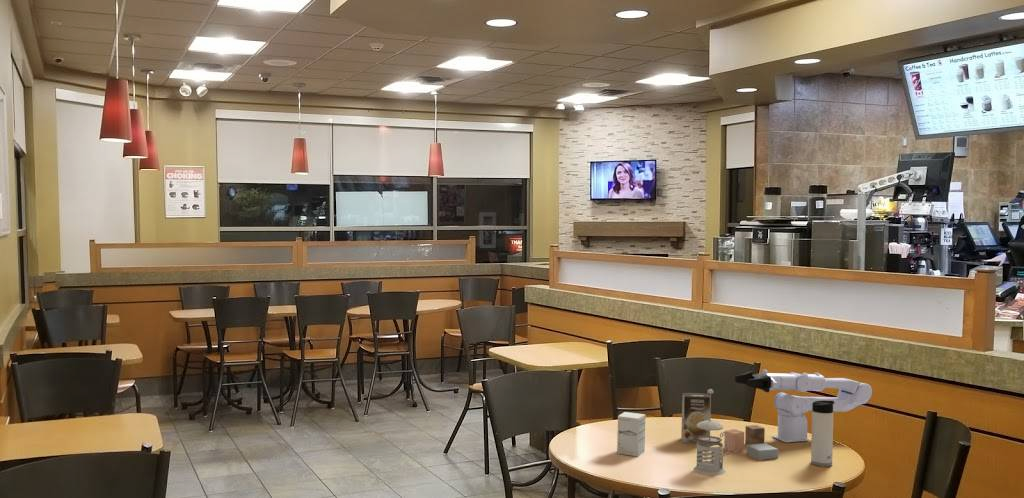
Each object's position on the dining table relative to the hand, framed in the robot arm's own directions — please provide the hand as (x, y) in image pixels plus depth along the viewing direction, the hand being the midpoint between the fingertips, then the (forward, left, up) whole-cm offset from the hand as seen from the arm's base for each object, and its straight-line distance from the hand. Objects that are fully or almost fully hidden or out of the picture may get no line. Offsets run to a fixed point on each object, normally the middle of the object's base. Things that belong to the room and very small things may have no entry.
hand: (741, 381), depth 289 cm
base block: (+2, +15, -22) cm, 26 cm away
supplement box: (+41, -1, -22) cm, 46 cm away
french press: (+26, +24, -22) cm, 42 cm away
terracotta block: (+6, +5, -22) cm, 23 cm away
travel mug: (-11, +28, -22) cm, 37 cm away
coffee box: (+13, -8, -22) cm, 27 cm away
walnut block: (-4, +2, -22) cm, 22 cm away
